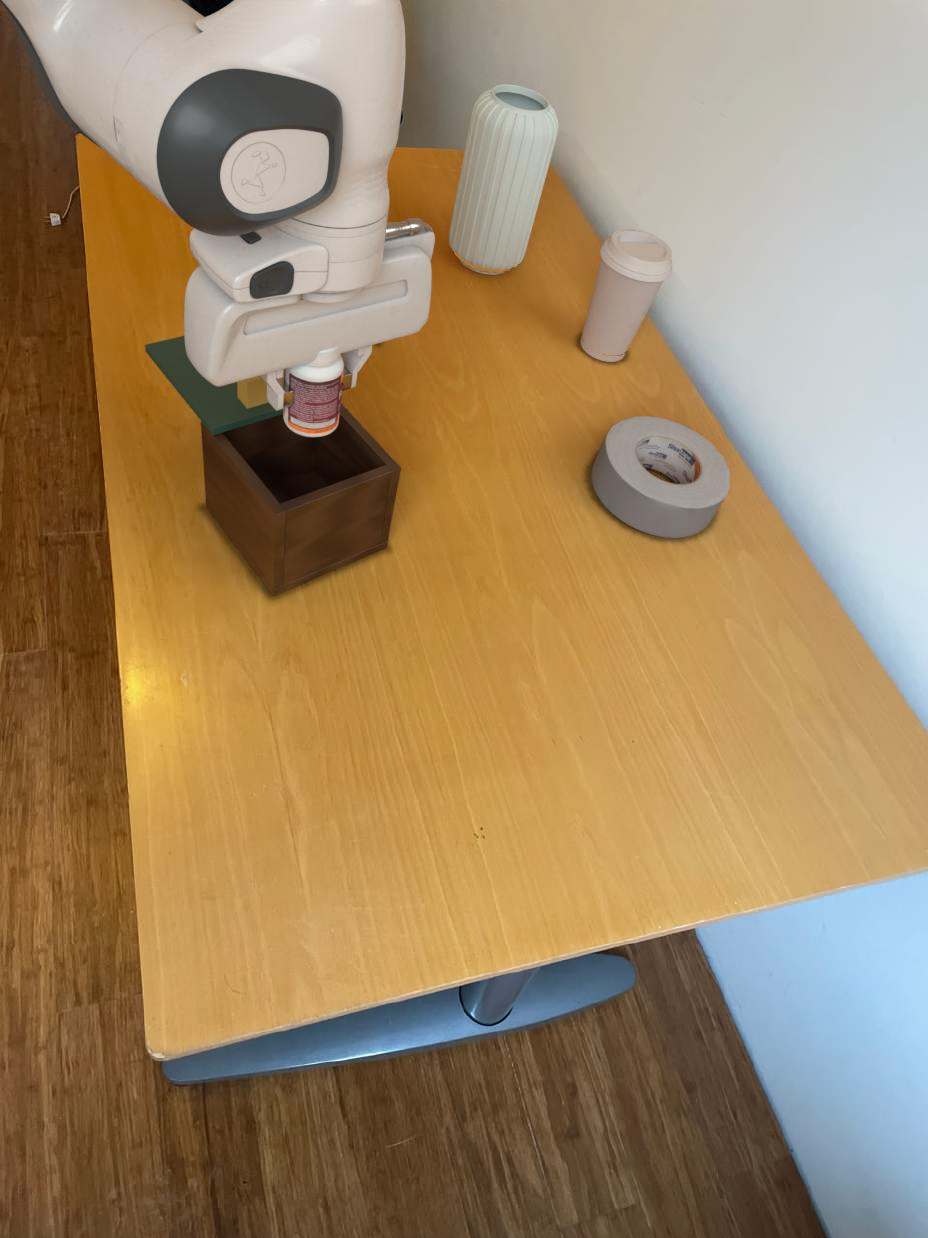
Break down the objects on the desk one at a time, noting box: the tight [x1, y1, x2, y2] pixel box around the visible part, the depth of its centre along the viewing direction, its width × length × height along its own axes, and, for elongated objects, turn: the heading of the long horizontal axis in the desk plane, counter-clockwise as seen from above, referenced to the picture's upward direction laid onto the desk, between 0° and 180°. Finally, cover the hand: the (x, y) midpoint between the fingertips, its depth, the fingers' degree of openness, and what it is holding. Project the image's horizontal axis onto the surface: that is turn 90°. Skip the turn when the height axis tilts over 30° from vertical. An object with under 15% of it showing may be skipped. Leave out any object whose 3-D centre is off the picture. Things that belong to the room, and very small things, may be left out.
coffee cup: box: [580, 227, 673, 363], centre depth 108 cm, size 10×10×15 cm
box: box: [200, 402, 402, 597], centre depth 78 cm, size 13×13×11 cm
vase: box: [448, 83, 560, 276], centre depth 113 cm, size 12×12×22 cm
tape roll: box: [590, 415, 731, 539], centre depth 95 cm, size 15×15×5 cm
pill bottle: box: [283, 347, 344, 437], centre depth 67 cm, size 5×5×8 cm
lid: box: [144, 335, 284, 435], centre depth 76 cm, size 13×13×4 cm
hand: (311, 394), depth 68 cm, fingers closed on pill bottle, 5 cm apart
